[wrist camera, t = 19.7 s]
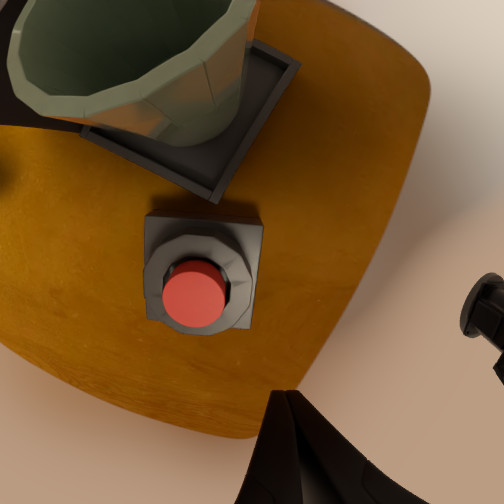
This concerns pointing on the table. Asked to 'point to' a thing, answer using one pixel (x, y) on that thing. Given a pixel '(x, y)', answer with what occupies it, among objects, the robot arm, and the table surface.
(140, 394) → the table surface
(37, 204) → the table surface
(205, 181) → the coffee maker
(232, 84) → the cup
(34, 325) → the table surface
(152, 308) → the button block
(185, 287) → the button
